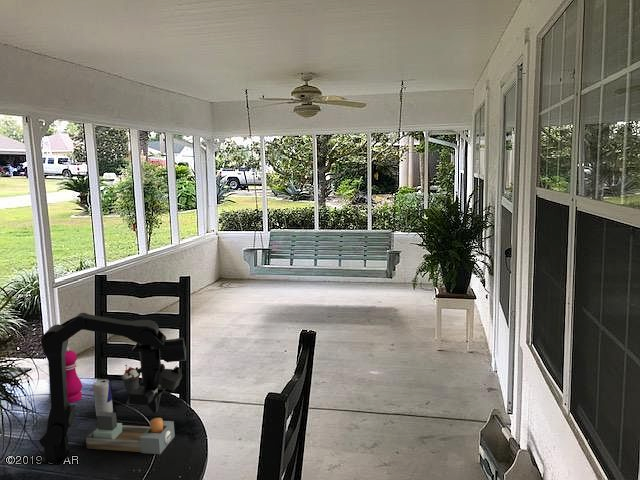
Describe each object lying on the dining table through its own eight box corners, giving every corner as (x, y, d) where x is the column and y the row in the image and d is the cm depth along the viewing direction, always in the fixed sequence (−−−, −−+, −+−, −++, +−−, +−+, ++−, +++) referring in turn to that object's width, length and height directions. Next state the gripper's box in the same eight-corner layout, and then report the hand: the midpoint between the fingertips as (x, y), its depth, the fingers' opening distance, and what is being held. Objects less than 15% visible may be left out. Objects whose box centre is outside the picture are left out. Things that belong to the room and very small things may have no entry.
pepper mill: (57, 402, 190) (50, 350, 186) (71, 393, 196) (65, 342, 193) (73, 404, 187) (67, 351, 184) (87, 395, 194) (81, 344, 191)
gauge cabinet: (161, 454, 155) (160, 438, 154) (141, 453, 156) (139, 437, 155) (176, 436, 164) (175, 421, 163) (156, 435, 165) (155, 420, 165)
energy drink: (116, 411, 181) (112, 379, 179) (108, 419, 176) (104, 386, 174) (101, 411, 182) (97, 378, 180) (93, 419, 177) (89, 385, 175)
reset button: (160, 436, 157) (159, 424, 157) (149, 435, 158) (147, 423, 157) (165, 430, 161) (164, 418, 160) (154, 429, 161) (153, 417, 161)
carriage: (112, 441, 159) (109, 419, 158) (94, 440, 160) (91, 418, 159) (122, 431, 165) (120, 409, 164) (105, 430, 166) (102, 409, 165)
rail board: (142, 452, 156) (141, 441, 156) (87, 448, 159) (85, 437, 159) (156, 435, 165) (155, 425, 164) (103, 432, 168) (102, 422, 167)
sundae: (122, 407, 184) (118, 367, 181) (124, 399, 190) (120, 360, 188) (142, 404, 186) (138, 364, 183) (143, 396, 192) (139, 357, 189)
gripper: (161, 378, 145) (166, 430, 148) (189, 352, 163) (192, 399, 166) (124, 376, 147) (129, 427, 150) (155, 351, 165) (159, 397, 168)
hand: (155, 412), depth 158 cm, fingers closed
